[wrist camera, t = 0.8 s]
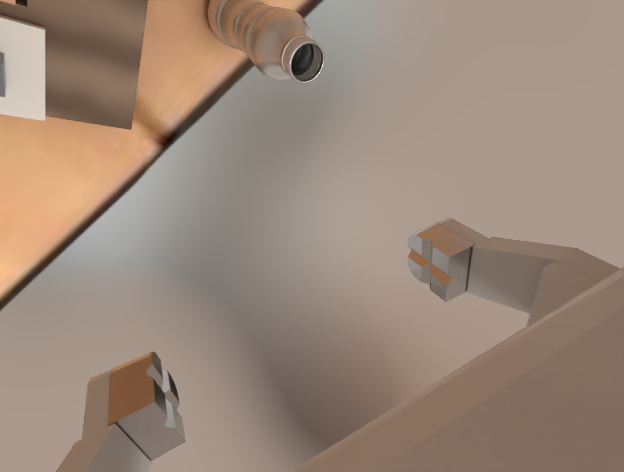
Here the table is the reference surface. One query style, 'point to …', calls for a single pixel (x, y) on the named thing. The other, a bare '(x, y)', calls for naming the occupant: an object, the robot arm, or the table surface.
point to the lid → (22, 69)
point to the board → (88, 56)
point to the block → (10, 1)
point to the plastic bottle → (268, 38)
